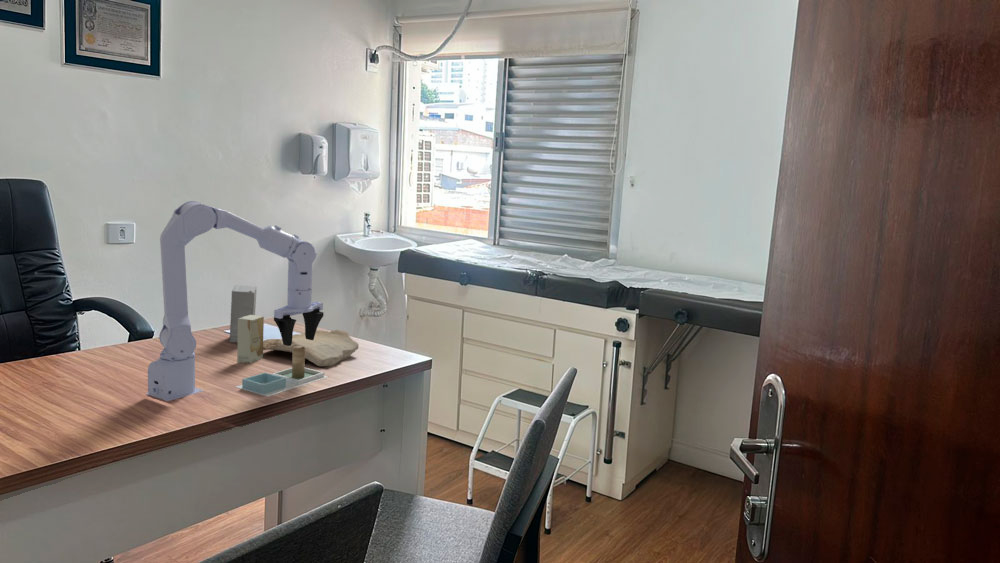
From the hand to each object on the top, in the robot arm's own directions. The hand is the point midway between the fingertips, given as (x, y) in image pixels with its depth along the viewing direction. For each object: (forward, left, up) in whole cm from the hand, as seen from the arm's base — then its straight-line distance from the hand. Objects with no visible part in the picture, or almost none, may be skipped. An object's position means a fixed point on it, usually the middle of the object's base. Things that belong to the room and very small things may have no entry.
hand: (298, 342), depth 177 cm
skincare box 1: (+17, +39, -10) cm, 44 cm away
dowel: (0, 0, -9) cm, 9 cm away
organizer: (-5, 0, -10) cm, 11 cm away
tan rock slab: (+18, +14, -10) cm, 25 cm away
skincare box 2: (+3, +20, -10) cm, 23 cm away
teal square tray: (-11, 0, -10) cm, 15 cm away
